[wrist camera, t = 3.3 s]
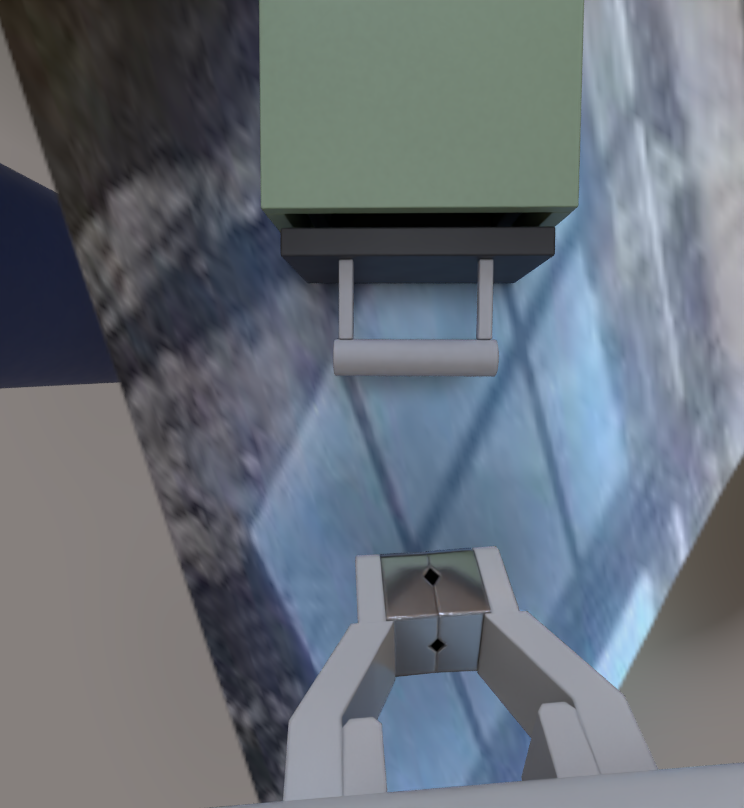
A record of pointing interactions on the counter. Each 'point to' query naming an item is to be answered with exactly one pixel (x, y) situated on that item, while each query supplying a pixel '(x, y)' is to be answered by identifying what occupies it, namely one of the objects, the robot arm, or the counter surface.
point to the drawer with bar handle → (416, 278)
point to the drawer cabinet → (420, 108)
